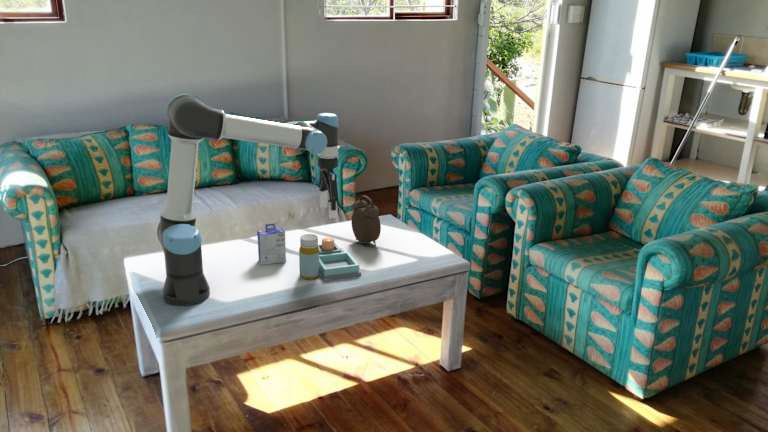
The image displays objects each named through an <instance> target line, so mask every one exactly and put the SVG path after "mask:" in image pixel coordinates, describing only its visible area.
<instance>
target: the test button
mask: <svg viewBox="0 0 768 432" xmlns="http://www.w3.org/2000/svg"><path fill="white" fill-rule="evenodd" d="M334 243H335V239H334V238H332V237H324V238H322V239H321V244H322V251H331V250H334Z"/></svg>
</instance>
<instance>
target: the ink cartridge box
mask: <svg viewBox="0 0 768 432" xmlns="http://www.w3.org/2000/svg"><path fill="white" fill-rule="evenodd" d="M264 225H265V229H264V230H263V229H262V230H257V231H256V233H257V236H256V237H257V248H258V249H257V252H258V255H257V256H258V263H259V264H260V266H264V265H265V266H266V265H271V264H280V263H286V261H287V258H286V257H287V256H286V231H285V230H284V228H283V227H278V228H276V224H275V223H265V224H264Z"/></svg>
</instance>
